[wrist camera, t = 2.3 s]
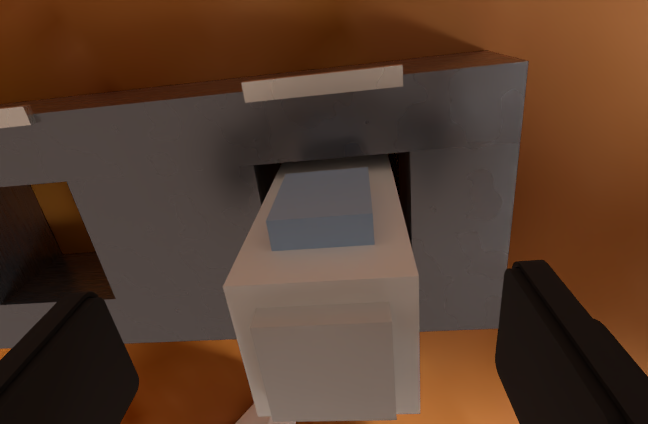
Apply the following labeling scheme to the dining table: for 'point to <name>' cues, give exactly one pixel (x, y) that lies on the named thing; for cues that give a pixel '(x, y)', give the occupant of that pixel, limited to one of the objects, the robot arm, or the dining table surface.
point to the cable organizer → (257, 418)
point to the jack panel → (256, 186)
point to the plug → (329, 296)
